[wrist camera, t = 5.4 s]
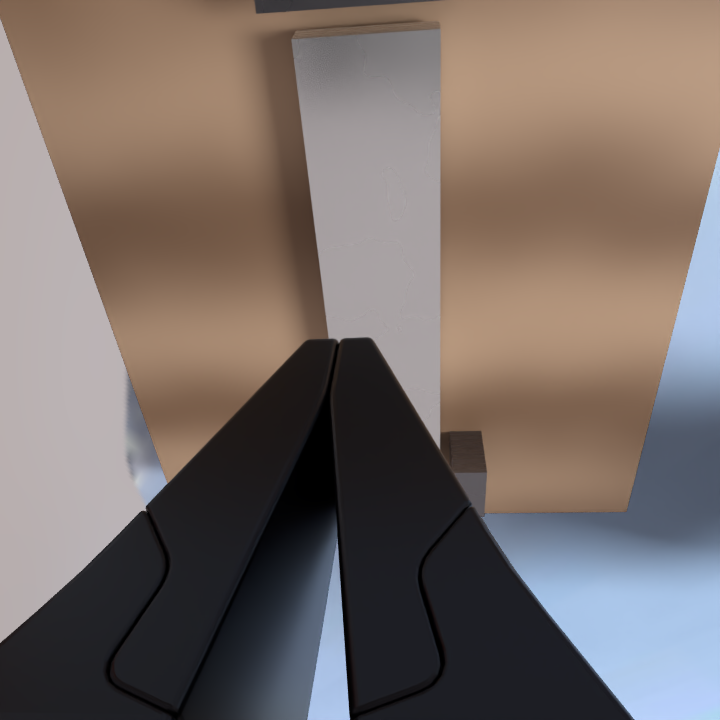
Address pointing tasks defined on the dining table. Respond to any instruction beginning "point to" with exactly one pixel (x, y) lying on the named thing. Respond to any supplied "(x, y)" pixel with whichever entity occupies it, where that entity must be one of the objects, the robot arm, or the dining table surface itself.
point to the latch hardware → (463, 444)
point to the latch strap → (378, 191)
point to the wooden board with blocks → (457, 211)
